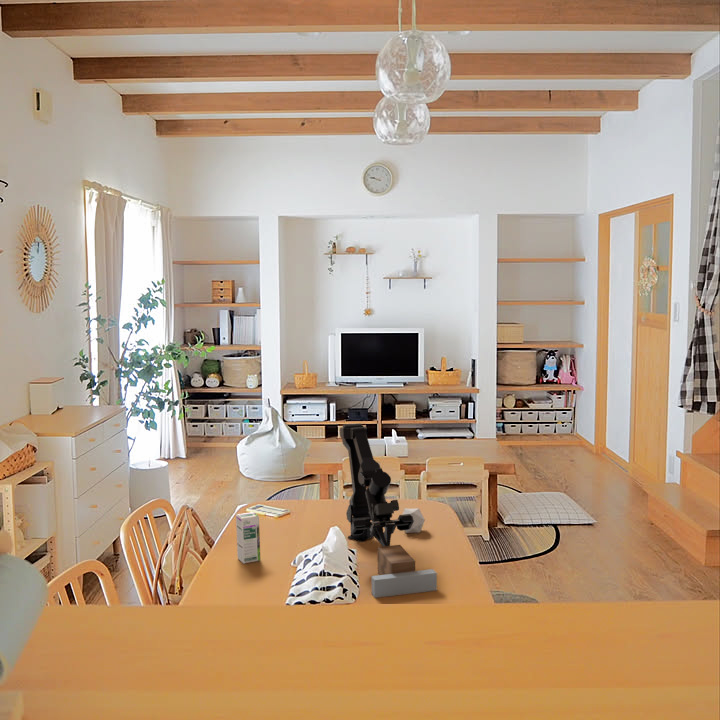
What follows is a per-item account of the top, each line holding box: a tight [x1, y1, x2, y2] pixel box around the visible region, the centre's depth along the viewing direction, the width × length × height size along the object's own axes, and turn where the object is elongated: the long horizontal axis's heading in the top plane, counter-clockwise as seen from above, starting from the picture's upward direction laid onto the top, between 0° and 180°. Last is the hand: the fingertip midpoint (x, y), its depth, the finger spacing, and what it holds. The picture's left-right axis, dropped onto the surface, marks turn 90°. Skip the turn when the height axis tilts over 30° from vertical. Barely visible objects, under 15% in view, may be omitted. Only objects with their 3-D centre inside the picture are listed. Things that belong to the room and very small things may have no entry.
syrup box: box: [235, 511, 261, 564], centre depth 239 cm, size 6×6×14 cm
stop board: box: [371, 568, 438, 599], centre depth 213 cm, size 3×18×5 cm, turn 105°
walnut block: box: [377, 544, 416, 575], centre depth 221 cm, size 14×7×8 cm, turn 15°
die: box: [402, 508, 426, 534], centre depth 264 cm, size 8×9×10 cm
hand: (387, 550), depth 228 cm, fingers closed, pressing on walnut block
